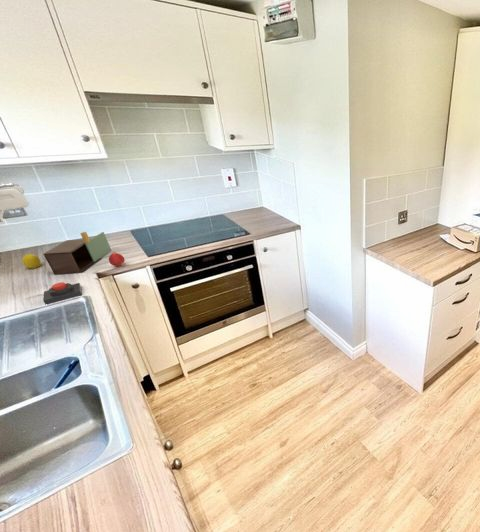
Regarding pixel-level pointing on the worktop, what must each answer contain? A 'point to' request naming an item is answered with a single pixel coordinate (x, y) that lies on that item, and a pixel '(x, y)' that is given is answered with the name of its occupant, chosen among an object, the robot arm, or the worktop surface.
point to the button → (59, 286)
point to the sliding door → (96, 245)
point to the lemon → (31, 261)
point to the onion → (116, 259)
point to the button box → (62, 293)
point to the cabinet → (69, 257)
